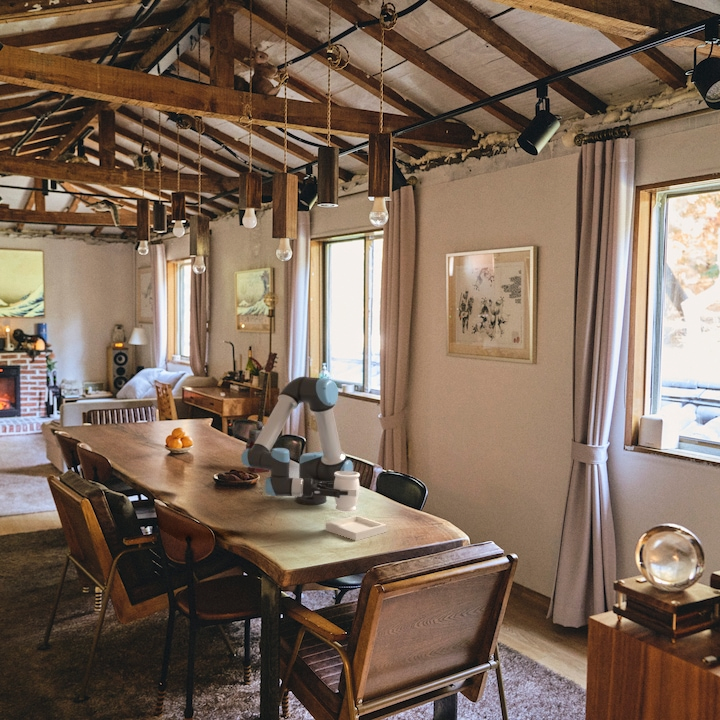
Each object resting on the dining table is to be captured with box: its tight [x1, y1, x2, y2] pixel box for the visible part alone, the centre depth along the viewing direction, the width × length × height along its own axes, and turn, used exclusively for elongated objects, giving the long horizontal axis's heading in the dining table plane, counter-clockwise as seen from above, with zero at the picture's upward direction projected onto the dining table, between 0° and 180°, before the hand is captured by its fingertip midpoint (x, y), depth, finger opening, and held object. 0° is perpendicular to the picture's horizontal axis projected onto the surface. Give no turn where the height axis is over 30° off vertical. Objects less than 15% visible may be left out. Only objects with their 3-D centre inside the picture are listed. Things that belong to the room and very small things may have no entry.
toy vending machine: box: [245, 421, 270, 474], centre depth 396 cm, size 9×11×28 cm
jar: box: [334, 470, 361, 512], centre depth 290 cm, size 11×10×15 cm
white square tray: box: [325, 514, 388, 542], centre depth 292 cm, size 18×18×3 cm
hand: (356, 489), depth 290 cm, fingers closed on jar, 10 cm apart
